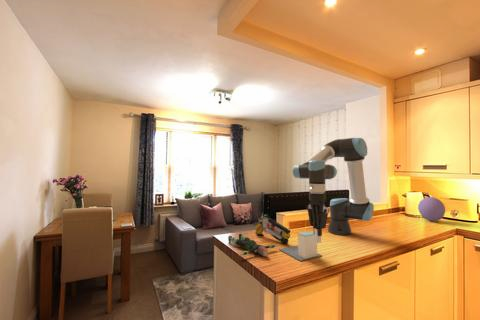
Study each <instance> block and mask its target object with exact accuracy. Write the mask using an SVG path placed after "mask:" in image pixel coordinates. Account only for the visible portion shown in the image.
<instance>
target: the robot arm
mask: <svg viewBox="0 0 480 320" xmlns="http://www.w3.org/2000/svg"><path fill="white" fill-rule="evenodd" d="M367 155H368V145H367V142H366V140H364V139H363V138H362V137H348V138H340V139H334V140H331V141H330V142H328V143H326V144H324V145H323V146H322V147H321V148H320V149H319V150H318V151H317V152H316V153H315V154H313V155H312V156H311V157H310V158H308V159H307V160H306V161H304V162H303V163H302V164H296V165H294V166H293V167H292V176H293V177H294V178H295V179H308V191H309V192H308V199H309V204H308V205H305V208H306V210H307V213H308V220H309V225H310V227H312V228H313V232H314V235H315V243H317V244H320V243H322V236H323V229H326V228H327V232H328V233H330V234H334V235H338V236H348V235H351V234H352V228H351V225H350V222H349V219H350V220H356V221H357V220H358V221H362V222H363V221H364V222H369V221H371V220H372V218H373V215H374V209H375V206H374V203H372V202H370V198H369V197H368V196H367V193H366V192H367V190H366V182H365V174H364V165H363V161H364V160H365V157H366V156H367ZM333 158H343V160H344V162H345V163H346V165H347V172H348V181H349V190H350V196H351V197H350V198H349V199H348V198H347V197H346V198H345V197H343V198H342V197H341V198H339V197H338V198H332V199H331V200H330V202H329V208H327V207H326V199H327V196H326V190H327V189H326V180H332V179H334V178H336V176H337V174H338V170H337V167H336V166H334V165H332V164H326V162H327V161H330V160H333ZM328 216H330V219H329V223H328V226H327V227H326V225H327V221H328Z"/></svg>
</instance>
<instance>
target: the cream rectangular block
mask: <svg viewBox="0 0 480 320" xmlns="http://www.w3.org/2000/svg"><path fill="white" fill-rule="evenodd" d="M297 245H298V255H299V256H301V257H303V258H305V259H306V258H310V257H314V256H317V253H318V243H315V235H314V231H303V232H298V233H297Z"/></svg>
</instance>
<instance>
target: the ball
mask: <svg viewBox="0 0 480 320" xmlns="http://www.w3.org/2000/svg"><path fill="white" fill-rule="evenodd" d="M417 205H418V206H417V209H418V212H419V214H420V216H421V217H422V218H423V219H425V220H427V221H430V222H436V221H440V220H441V219H442V218H444V216H445V213H446V206H445V203H443V202H442V201H441V200H440V199H438V198H436V197H434V196H426V197H424V198H423V199H421V200H420V201H419V203H418V204H417Z"/></svg>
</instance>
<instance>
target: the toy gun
mask: <svg viewBox="0 0 480 320" xmlns="http://www.w3.org/2000/svg"><path fill="white" fill-rule="evenodd" d="M257 219H258V224H257V225H256V227H255V235H257V237H259V236H261V237H264V234H263V232H264V233H265V234H268V235H270V236H271V237H273V238H274V239H275V240H277V241H279V242H280V243H282V244H283V245H284V246H286V245H289V239H290V238H291V234H290V233H291V230H290V229H289V228H288V227H285V226H284V225H282V224H281V223H279V222H277V221H276V220H274V219H272V218H271V217H270V216H269V215H268V214H264V215H261V217H257Z"/></svg>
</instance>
